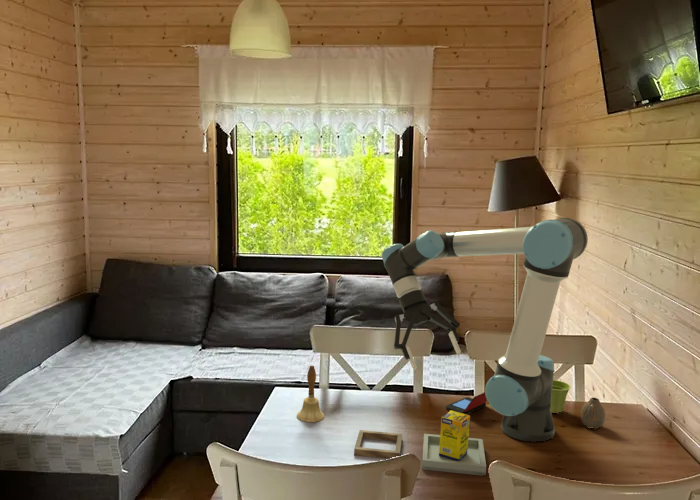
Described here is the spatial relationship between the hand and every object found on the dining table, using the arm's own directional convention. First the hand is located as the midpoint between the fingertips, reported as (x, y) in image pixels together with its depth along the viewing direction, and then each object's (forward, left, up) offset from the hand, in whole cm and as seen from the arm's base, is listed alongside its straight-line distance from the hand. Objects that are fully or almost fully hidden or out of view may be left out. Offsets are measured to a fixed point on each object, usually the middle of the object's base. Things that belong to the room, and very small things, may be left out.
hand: (437, 361), depth 190 cm
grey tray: (-5, +16, -21) cm, 27 cm away
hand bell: (+37, -2, -21) cm, 42 cm away
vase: (-47, -14, -21) cm, 54 cm away
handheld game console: (-11, -19, -21) cm, 31 cm away
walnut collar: (+15, +14, -21) cm, 29 cm away
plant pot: (-37, -24, -21) cm, 49 cm away
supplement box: (-5, +16, -20) cm, 26 cm away
